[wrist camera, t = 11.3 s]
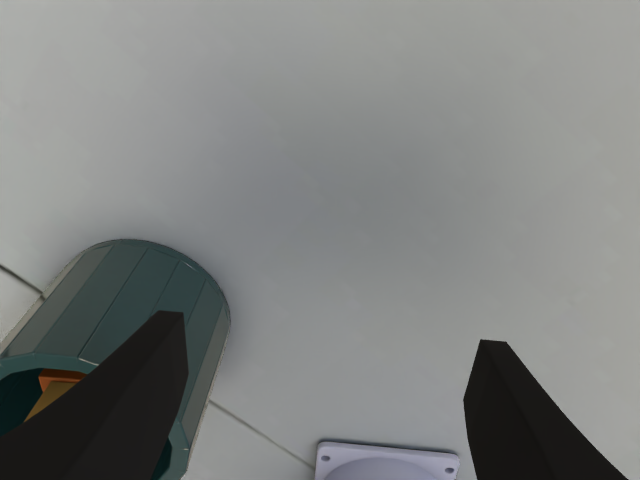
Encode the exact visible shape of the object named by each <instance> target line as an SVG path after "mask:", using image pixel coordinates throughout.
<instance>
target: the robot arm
mask: <svg viewBox="0 0 640 480" xmlns="http://www.w3.org/2000/svg"><path fill="white" fill-rule="evenodd" d="M188 375H189V369H188V358H187V347H186V335H185V324H184V313H183V312H174V311H163V310H158V311H157V312H156V313H155V314H153V315H152V316H151V317H150V318H149V319H148V320H147V321H146V322H145V323H144V324H143V325H142V326H141V327H140V328H139V329H138V330H137V331H135V332H134V333H133V334H132V335H131V336H130V337H129V338H128V339H127V340H126V341H125V342H124V343H123V344H122V345H121V346H119V347H118V348H117V349H116V350H115V351H114V352H113V353H112V354H110V355H109V356H108V357H107V358H106V359H105V360H104V361H103V362H101V363H100V364H99V365H98V366H97V367H96V368H95V369H93V370H92V371H91V372H90V373H89V374H87V375H86V376H85V377H84V378H83V379H81V380H80V381H79V382H78V383H76V384H75V385H74V386H73V387H71V388H70V389H69V390H68V391H66V392H65V393H64V394H63V395H61V396H60V397H59V398H57V399H56V400H55V401H53V402H52V403H51V404H49V405H48V406H47V407H45V408H44V409H42V410H41V411H40V412H38V413H37V414H35V415H34V416H32V417H31V418H29V419H28V420H27V421H25V422H24V423H22V424H20V425H19V426H17V427H16V428H14V429H12V430H11V431H9V432H8V433H6V434H4V435H3V436H1V437H0V480H150V479H151V476H152V474H153V471H154V469H155V467H156V464H157V462H158V460H159V457H160V455H161V452H162V450H163V448H164V445H165V443H166V441H167V438H168V436H169V433H170V431H171V428H172V426H173V424H174V421H175V419H176V416H177V414H178V411H179V408H180V404H181V401H182V397H183V394H184V390H185V386H186V383H187V379H188ZM463 401H464V411H465V421H466V429H467V437H468V442H469V447H470V451H471V455H472V459H473V464H474V468H475V472H476V476H477V480H628V479H627V478H626V477H625V476H624V475H623V474H622V473H621V472H619V471H618V470H617V469H616V468H615V467H614V466H613V465H612V464H611V463H610V462H609V461H608V460H607V459H606V458H605V457H604V456H603V455H602V454H601V453H600V452H599V451H598V450H597V449H596V448H595V447H594V446H593V445H592V444H591V443H590V442H589V441H588V440H587V439H586V438H585V436H584V435H583V434H582V433H581V432H580V431H579V430H578V429H577V428H576V427H575V426H574V425H573V423H572V422H571V421H570V420H569V419H568V418H567V417H566V416H565V414H564V413H563V412H562V411H561V410H560V408H559V407H558V406H557V405H556V404H555V403H554V401H553V400H552V399H551V398H550V397H549V395H548V394H547V393H546V392H545V390H544V389H543V388H542V387H541V385H540V384H539V383H538V382H537V380H536V379H535V378H534V377H533V375H532V374H531V373H530V372H529V370H528V369H527V368H526V366H525V365H524V364H523V363H522V361H521V360H520V359H519V357H518V356H517V355H516V354H515V352H514V351H513V350H512V349H511V347H510V346H509V345H508V344H507V342H503V341H492V340H481V339H480V343H479V346H478V350H477V353H476V357H475V360H474V364H473V367H472V371H471V374H470V378H469V381H468V385H467V388H466V392H465V395H464V399H463ZM325 455H326V456H325ZM459 466H460V461H459V457H458V456H457V455H455V454H450V453H440V452H430V451H419V450H409V449H399V448H388V447H378V446H368V445H357V444H347V443H337V442H321V443H320V444H318V447H317V458H316V469H315V480H455V479H456V476H457V472H458V469H459Z"/></svg>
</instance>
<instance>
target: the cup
mask: <svg viewBox="0 0 640 480" xmlns="http://www.w3.org/2000/svg"><path fill="white" fill-rule="evenodd" d="M158 310H163V311H174V312H183V313H184V324H185V335H186V347H187V358H188V369H189V375H188V379H187V383H186V386H185V390H184V394H183V397H182V401H181V404H180V408H179V411H178V414H177V416H176V419H175V421H174V424H173V426H172V428H171V431H170V433H169V436H168V438H167V441H166V443H165V445H164V448H163V450H162V452H161V455H160V457H159V460H158V462H157V464H156V467H155V469H154V471H153V474H152V476H151V479H150V480H180V479H181V478H182V476H183V475H184V474H185V473H186V471H187V468H188V465H189V462H190V459H191V456H192V453H193V449H194V446H195V443H196V440H197V437H198V434H199V430H200V427H201V424H202V421H203V418H204V415H205V411H206V408H207V405H208V402H209V399H210V396H211V393H212V389H213V386H214V383H215V380H216V377H217V374H218V370H219V367H220V364H221V361H222V358H223V355H224V351H225V348H226V343H227V339H228V336H229V331H230V313H229V309H228V305H227V302H226V300H225V297H224V295H223V293H222V291H221V290H220V288H219V286H218V285H217V283H216V282H215V281H214V280H213V279H212V277H211V276H210V275H209V274H208V273H207V272H206V271H205V270H204V269H203V268H202V267H200V266H199V265H198V264H197V263H195V262H194V261H193V260H191V259H189V258H188V257H186V256H185V255H183V254H181V253H179V252H177V251H175V250H173V249H171V248H168V247H165V246H162V245H160V244H156V243H152V242H148V241H141V240H125V239H124V240H113V241H108V242H103V243H100V244H97V245H95V246H92V247H90V248H88V249H86V250H84V251H83V252H81V253H80V254H79V255H78V256H76V257H75V258H74V259H73V261H72V262H71V263H69V264H68V265H67V266H66V267H65V268H64V269H63V270H62V271H61V273H60V274H59V275H58V276H57V277H56V278H55V280H54V281H53V282H52V283H51V284H50V285H49V287H48V288H47V289H46V290H45V291H44V293H43V294H42V295H41V296H40V297H39V298H38V300H37V301H36V302H35V303H34V304H33V306H32V307H31V308H30V309H29V310H28V311H27V313H26V314H25V315H24V316H23V317H22V318H21V320H20V321H19V322H18V323H17V324H16V326H15V327H14V328H13V329H12V330H11V331H10V333H9V334H8V335H7V336H6V337H5V339H4V340H3V341H2V342H1V343H0V437H1V436H3V435H4V434H6V433H8V432H9V431H11V430H12V429H14V428H16V427H17V426H19V425H20V424H22V423H24V421H25V419H26V418H27V416H28V415H29V413H30V412H31V410H32V409H33V407H34V406H35V404H36V403H37V401H38V400H39V398H40V397H41V395H42V394H43V391H42V388H41V385H40V381H39V378H38V377H39V375H40V373H41V372H42V370H43V369H44V368H46V369H57V370H67V371H78V372H81V373H84V374H89V373H90V372H91V371H92V370H93V369H95V368H96V367H97V366H98V365H99V364H100V363H101V362H103V361H104V360H105V359H106V358H107V357H108V356H109V355H110V354H112V353H113V352H114V351H115V350H116V349H117V348H118V347H119V346H121V345H122V344H123V343H124V342H125V341H126V340H127V339H128V338H129V337H130V336H131V335H132V334H133V333H134V332H135V331H137V330H138V329H139V328H140V327H141V326H142V325H143V324H144V323H145V322H146V321H147V320H148V319H149V318H150V317H151V316H152V315H153V314H155V313H156V312H157V311H158Z"/></svg>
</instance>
